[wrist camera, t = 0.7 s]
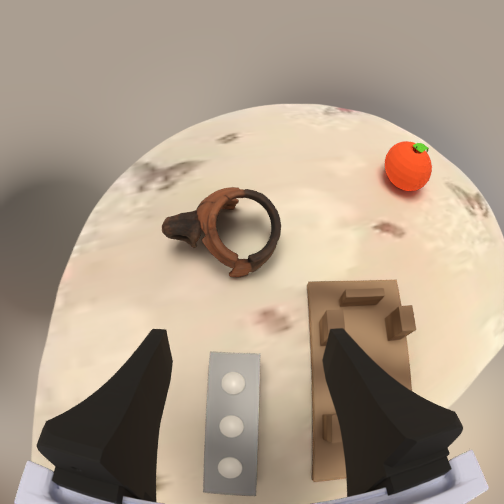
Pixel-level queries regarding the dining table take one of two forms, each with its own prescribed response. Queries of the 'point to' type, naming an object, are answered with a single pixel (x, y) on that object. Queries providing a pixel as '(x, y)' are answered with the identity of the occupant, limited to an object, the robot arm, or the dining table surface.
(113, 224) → the dining table surface
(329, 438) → the rack
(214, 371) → the power strip
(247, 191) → the brown open ring
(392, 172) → the clementine
